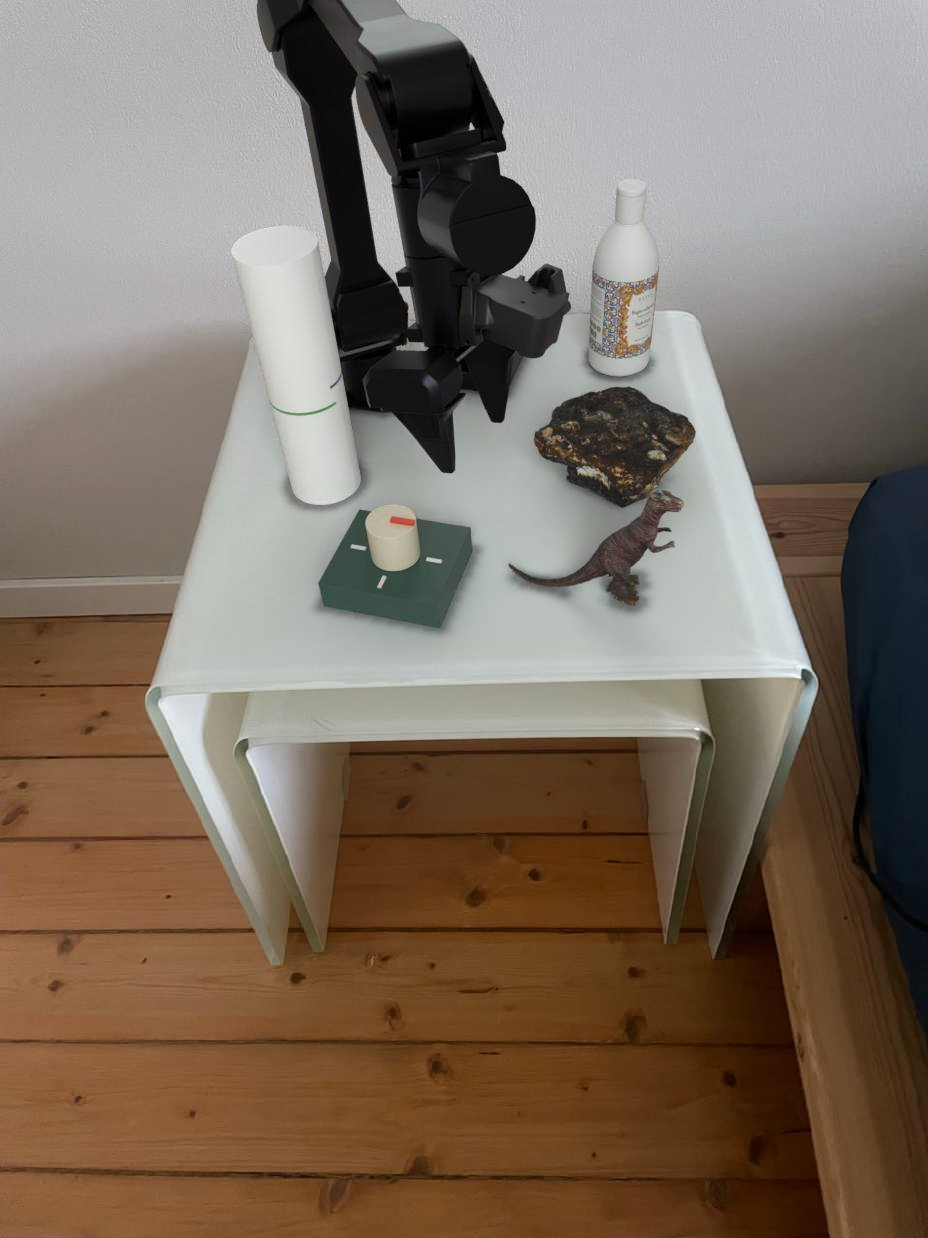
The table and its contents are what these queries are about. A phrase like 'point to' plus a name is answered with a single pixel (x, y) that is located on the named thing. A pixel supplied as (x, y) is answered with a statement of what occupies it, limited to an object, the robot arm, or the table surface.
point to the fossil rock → (615, 442)
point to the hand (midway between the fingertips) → (474, 446)
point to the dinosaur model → (621, 551)
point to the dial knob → (393, 537)
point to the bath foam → (624, 287)
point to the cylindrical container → (299, 359)
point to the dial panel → (398, 575)
